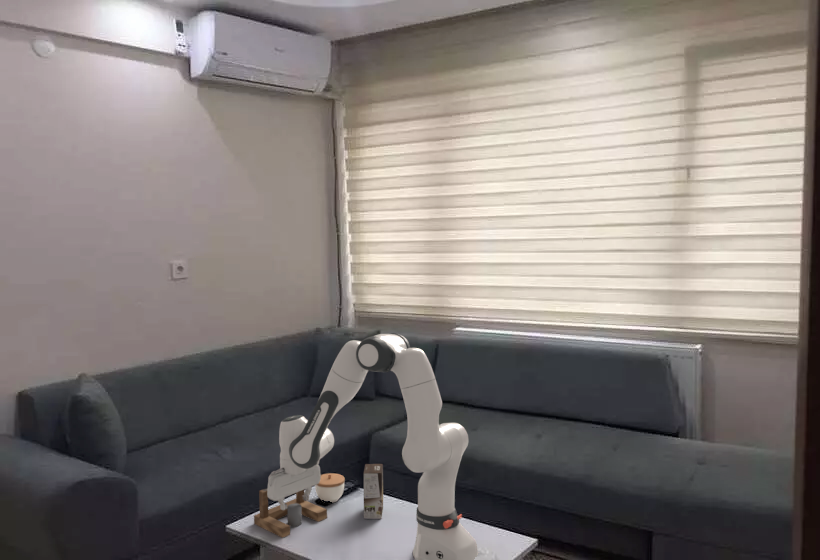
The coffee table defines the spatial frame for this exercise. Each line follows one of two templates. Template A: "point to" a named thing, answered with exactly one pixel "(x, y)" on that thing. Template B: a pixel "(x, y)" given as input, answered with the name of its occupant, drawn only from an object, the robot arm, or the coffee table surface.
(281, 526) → the wooden crossbar stand
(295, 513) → the grey cylinder
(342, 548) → the coffee table surface
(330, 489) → the lidded jar
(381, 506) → the coffee box
